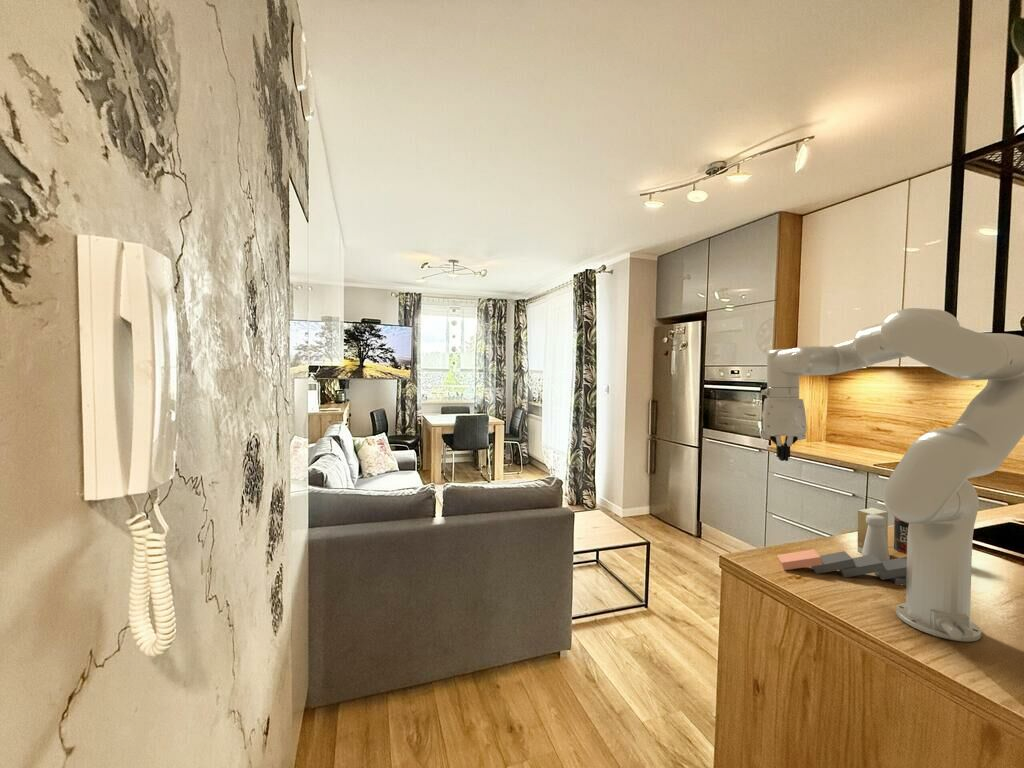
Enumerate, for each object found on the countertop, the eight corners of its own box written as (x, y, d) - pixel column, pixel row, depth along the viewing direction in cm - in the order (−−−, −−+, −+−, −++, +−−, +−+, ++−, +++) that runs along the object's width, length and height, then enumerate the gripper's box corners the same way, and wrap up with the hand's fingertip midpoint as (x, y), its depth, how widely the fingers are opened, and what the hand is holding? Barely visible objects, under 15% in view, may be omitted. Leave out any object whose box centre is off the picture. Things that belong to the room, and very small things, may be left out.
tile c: (881, 579, 109) (924, 572, 106) (878, 571, 109) (921, 564, 106) (872, 570, 114) (913, 563, 111) (869, 563, 114) (910, 556, 111)
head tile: (784, 570, 116) (822, 564, 113) (781, 562, 116) (820, 556, 113) (779, 562, 120) (816, 556, 118) (776, 555, 121) (813, 549, 118)
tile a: (816, 574, 113) (855, 566, 111) (813, 566, 113) (852, 558, 111) (809, 565, 118) (847, 558, 116) (806, 558, 118) (844, 551, 116)
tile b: (844, 577, 111) (885, 570, 109) (841, 569, 111) (882, 562, 109) (836, 569, 116) (875, 561, 113) (833, 561, 116) (872, 554, 114)
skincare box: (871, 548, 129) (872, 507, 128) (888, 554, 125) (889, 511, 124) (856, 551, 127) (856, 509, 126) (872, 557, 123) (873, 514, 122)
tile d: (895, 586, 108) (942, 592, 104) (895, 578, 108) (942, 584, 104) (886, 577, 112) (931, 583, 109) (886, 569, 112) (931, 575, 109)
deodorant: (893, 551, 127) (894, 499, 126) (893, 544, 131) (894, 494, 131) (922, 556, 123) (923, 503, 122) (920, 550, 127) (922, 498, 127)
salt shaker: (879, 559, 122) (880, 512, 121) (895, 568, 116) (896, 519, 115) (856, 558, 122) (857, 512, 122) (871, 567, 116) (872, 519, 116)
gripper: (755, 394, 121) (755, 461, 121) (819, 394, 116) (819, 464, 116) (750, 393, 128) (750, 456, 128) (809, 393, 123) (810, 458, 123)
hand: (783, 459), depth 122 cm, fingers closed
